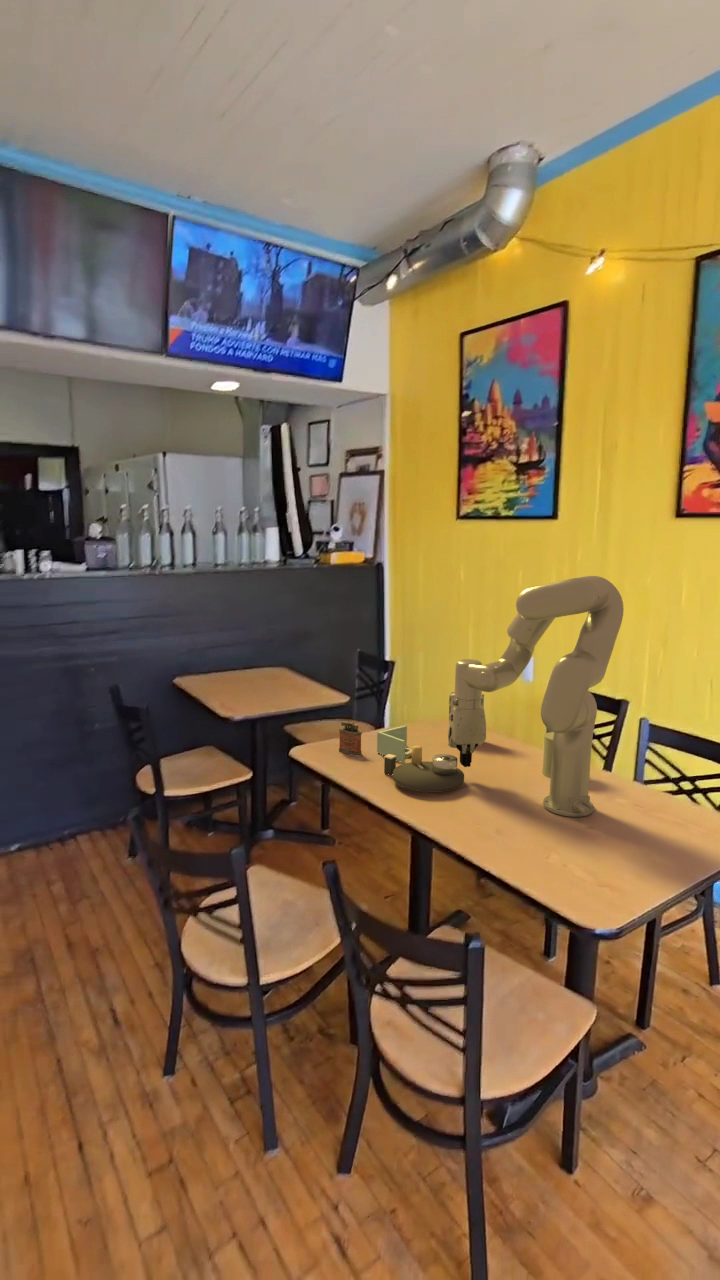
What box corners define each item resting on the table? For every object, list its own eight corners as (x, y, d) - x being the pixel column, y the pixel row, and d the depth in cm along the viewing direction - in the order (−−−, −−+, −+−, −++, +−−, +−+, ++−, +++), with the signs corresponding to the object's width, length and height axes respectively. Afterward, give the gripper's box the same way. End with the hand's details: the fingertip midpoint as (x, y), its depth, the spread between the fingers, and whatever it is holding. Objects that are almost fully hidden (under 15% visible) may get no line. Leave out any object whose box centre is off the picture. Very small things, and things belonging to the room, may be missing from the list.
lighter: (363, 753, 218) (363, 723, 216) (357, 756, 215) (358, 725, 214) (342, 748, 222) (342, 719, 221) (336, 751, 219) (336, 721, 218)
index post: (396, 773, 201) (396, 755, 200) (391, 775, 199) (391, 758, 198) (388, 771, 202) (389, 753, 201) (383, 773, 200) (384, 756, 199)
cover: (461, 774, 192) (461, 760, 191) (438, 777, 190) (438, 762, 189) (450, 766, 198) (450, 752, 198) (428, 768, 196) (428, 754, 195)
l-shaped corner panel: (402, 764, 210) (403, 741, 208) (377, 754, 219) (377, 732, 218) (430, 756, 217) (430, 734, 216) (404, 747, 226) (404, 725, 225)
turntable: (476, 787, 186) (477, 764, 185) (408, 795, 180) (409, 772, 179) (445, 763, 205) (445, 742, 204) (382, 770, 199) (383, 748, 198)
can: (578, 779, 197) (580, 739, 195) (546, 779, 197) (548, 739, 195) (569, 768, 206) (571, 730, 204) (538, 768, 206) (540, 729, 204)
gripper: (449, 708, 187) (447, 772, 190) (498, 704, 192) (495, 767, 195) (438, 701, 194) (436, 763, 197) (485, 698, 199) (482, 758, 202)
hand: (465, 765), depth 196 cm, fingers closed
